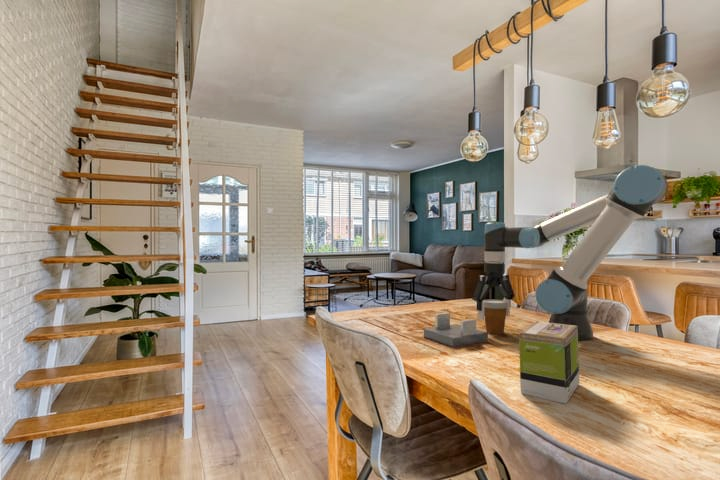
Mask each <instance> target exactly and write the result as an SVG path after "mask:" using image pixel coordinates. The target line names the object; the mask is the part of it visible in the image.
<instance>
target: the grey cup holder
mask: <svg viewBox="0 0 720 480" xmlns="http://www.w3.org/2000/svg"><path fill="white" fill-rule="evenodd" d="M434 315H435V316H434V317H435V318H434V320H435V324H434V325H435V326H433V327H425V328H423V338H426V339H429V340H431V341H434V342H437V343H440V344H442V345H445V346H449V347H451V348H457V347H463V346H467V345H468V346H469V345H473V344H479V343H484V342H489V333H488V332H486V331H483V330H479V329H477V318H476V319H474V318H469V319H463V320H460V324H458V323H455V324H451V313H450V312H442V313H436V314H434Z"/></svg>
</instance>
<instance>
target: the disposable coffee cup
mask: <svg viewBox="0 0 720 480" xmlns="http://www.w3.org/2000/svg"><path fill="white" fill-rule="evenodd" d="M483 302H484V321H485V322H484V324H485V329H486V331H485V332H488V334H491V335H504V334H505V325H506V317H507V316H506V310H507V306H508V305H507V302H506V301H503V299H484V300H483Z"/></svg>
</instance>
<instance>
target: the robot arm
mask: <svg viewBox="0 0 720 480" xmlns="http://www.w3.org/2000/svg"><path fill="white" fill-rule="evenodd" d="M668 188H669V184H668V181H667V179H666V177H665V176H664V175H663V173H662V172H661V171H660V170H659V169H657V168H655V167H652V166H649V165H646V164H645V165H644V164H638V165H632V166H629V167H627V168H625V169H623V170H622V171H621V172H620V173H618V175H617V176H616V178H615V180H614V183H613V187H612V189H611V190H610V191H609V193H607V194H605V195H603V196H601V197H597V198H596V199H593V200H591V201H588V202H587V203H584V204H581V205H579V206H578V207H575V208H573V209H571V210H569V211H566V212H564V213H562V214H559V215H557V216H555V217H552V218H551V219H548V220H545V221H544V222H541V223H539V224H537V225H534V226H524V227H522V226H521V227H520V226H519V227H518V226H517V227H508V226H507V227H506V223H505V222H501V221H500V222H497V221H496V222H493V221H492V222H486V223H485V225H484V233H483V235H484V237H483V239H484V248H483V249H484V251H483V252H484V255H483V256H484V257H483V261H484V263H483V265H484V266H483V271H484V273H485V275H480V274H479V276H478V282H477V283H476V287H475V290H474V292H473V295H472V297H471V299H472V301H474V302H476V310H477V319H479V320H481V321H485V316H484V302H483V301H484V300H485V298H486V297H487V295H488V293H489V292H490V289H492V288H495V287H497V288H498V289H499V291H500V292H501V294H502V296H503V298H502V300H503V301H506V302H507V305H508V306H507V310H506V317H510V316H511V313H510V312H511V300H513V299H514V298H515V296H516V295H515V293H514V292H515V291H514V289H513V286H512V284H511V280H510V274H509V273H508V274H507V273H506V271H505V269H506V267H505V265H506V264H505V263H504V262H506V252H505V250H506V248H517V249H518V248H519V249H522V248H523V249H532V248H533V249H535V248H539V247H542V246H544V245H545V244H547V243H549V242H551V241H553V240H556V239H558V238H561V237H563V236H565V235H568V234H571V233H573V232H577V231H579V230H581V229H583V228H585V227H588V226H590V227H589V228H588V230H587V232H586V233H585V235H584V236H583V237H582V239H581V240H580V241H579V243H578V244H577V245H576V246H575V248H574V249H573V250H572V252H571V253H570V254H569V256H568V257H567V259H566V260H565V261H564V263H563V264H562V265H561V266H558V267H557V266H556V267H554V268H553V270H552V271H551V272H550V274H549V275H548V276H547V277H546V279H545V280H543V281H541V282H539V284H538V285H537V286H536V289H535V293H534V294H535V295H534V296H535V300H536V303H537V304H538V305H539V307H540V308H541V309H542V310H543V311H545V312H546V313H549V314H550V318H549V321H548V323H557V324H566V325H576V326H577V327H578V341H589V340H593V338H594V330H593V328H592V325H591V322H590V320H589V317H588V288H589V287H588V285H589V283H588V280H589V278H590V277H591V276H592V274H593V273H594V271H596V269H597V268H598V267H599V265H600V264H601V263H602V262H603V260H604V259H605V258H606V256H607V255H608V254H609V252H611V251H612V248H613V247H614V246H615V245H616V244H617V243H618V241H619V239H621V237H622V236H623V235H624V234H625V232H626V230H628V229H629V227H630V226H631V224H632V223H633V222H634V220H637V219H642V218H644V217H645V216H646V214H648V212H649V211H650V209H652V207H653V206H654V205H656V204H658V203H660V202H661V201H662V200H663V199H664V197H666V195H667V193H668ZM505 273H506V274H505Z"/></svg>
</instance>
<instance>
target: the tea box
mask: <svg viewBox="0 0 720 480" xmlns="http://www.w3.org/2000/svg"><path fill="white" fill-rule="evenodd" d="M518 336H519V337H518V338H519V339H518V340H519V343H518V344H519V376H520V377H519V378H520V379H519V381H520V383H519V384H520V394H522V395H526V396H530V397H533V398H538V399H543V400H546V401H551V402H556V403H561V404H565V405H566V404H567V403H568V401H569V400H570V398H571V397H572V395H573V393H574V392H575V391H576V390H577V388H578V387H579V385H580V362H579V361H580V360H579V359H580V358H579V340H578V327H577V326H576V325H566V324H557V323H549V322H545V321H538V320H537V321H535V322H533V323H532V324H530V325H529V326H527V327H526V328H524V329H523V330H521V331H519V335H518Z"/></svg>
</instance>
